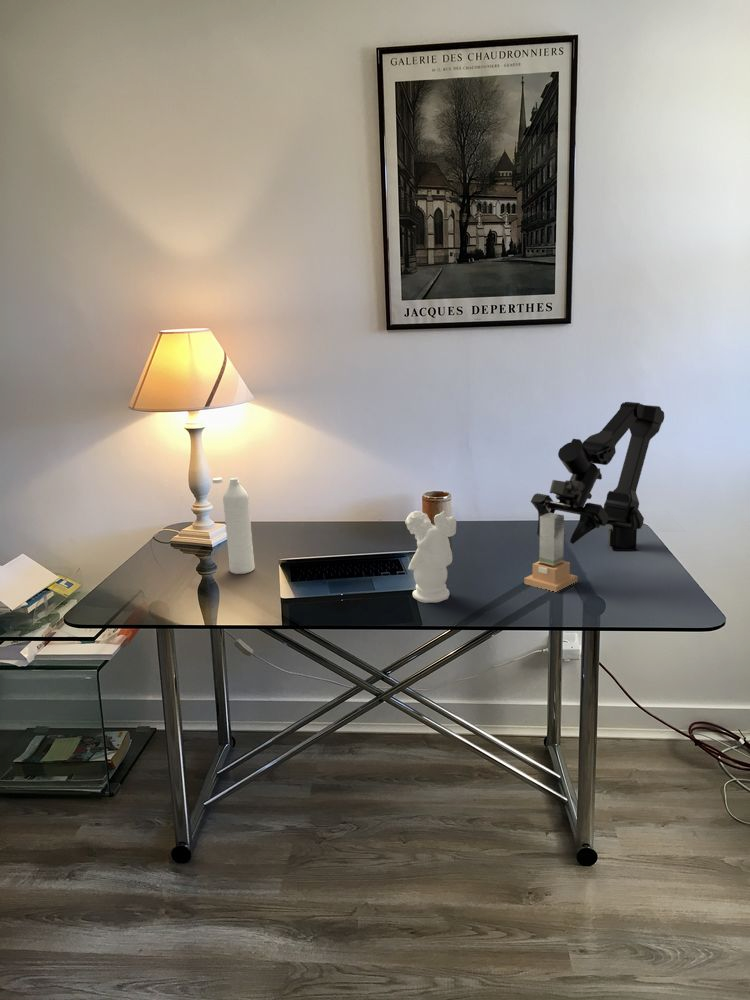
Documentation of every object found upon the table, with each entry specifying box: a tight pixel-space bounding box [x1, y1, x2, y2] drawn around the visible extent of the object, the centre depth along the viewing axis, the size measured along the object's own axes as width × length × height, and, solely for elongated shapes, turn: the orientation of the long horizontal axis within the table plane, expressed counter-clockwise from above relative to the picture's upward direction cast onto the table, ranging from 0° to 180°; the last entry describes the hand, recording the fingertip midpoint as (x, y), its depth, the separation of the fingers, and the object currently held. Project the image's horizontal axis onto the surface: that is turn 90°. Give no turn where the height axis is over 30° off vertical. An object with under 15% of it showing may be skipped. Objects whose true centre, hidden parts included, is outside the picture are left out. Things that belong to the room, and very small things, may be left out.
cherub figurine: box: [404, 510, 457, 604], centre depth 184 cm, size 12×12×22 cm
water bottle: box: [212, 477, 256, 575], centre depth 206 cm, size 9×6×25 cm
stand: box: [523, 560, 579, 593], centre depth 190 cm, size 9×9×5 cm
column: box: [538, 512, 565, 566], centre depth 188 cm, size 4×4×11 cm
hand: (554, 539), depth 189 cm, fingers open, 9 cm apart
